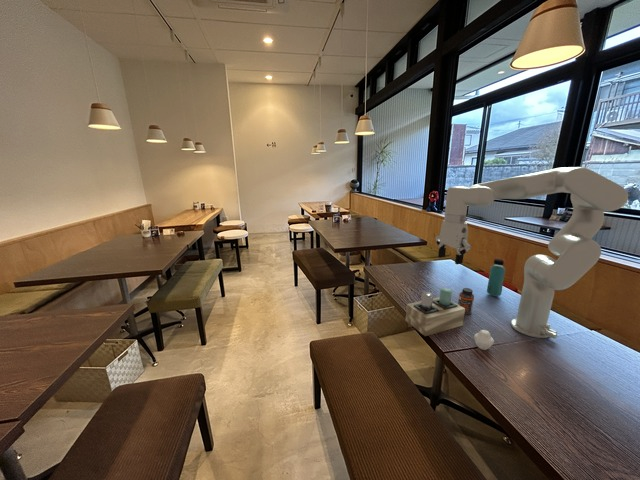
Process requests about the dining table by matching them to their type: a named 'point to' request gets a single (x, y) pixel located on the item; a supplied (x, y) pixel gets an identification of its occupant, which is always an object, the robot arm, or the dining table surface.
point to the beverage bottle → (496, 278)
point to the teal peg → (445, 297)
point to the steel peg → (426, 301)
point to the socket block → (434, 317)
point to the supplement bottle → (466, 300)
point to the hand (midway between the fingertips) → (449, 260)
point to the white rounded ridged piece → (483, 339)
